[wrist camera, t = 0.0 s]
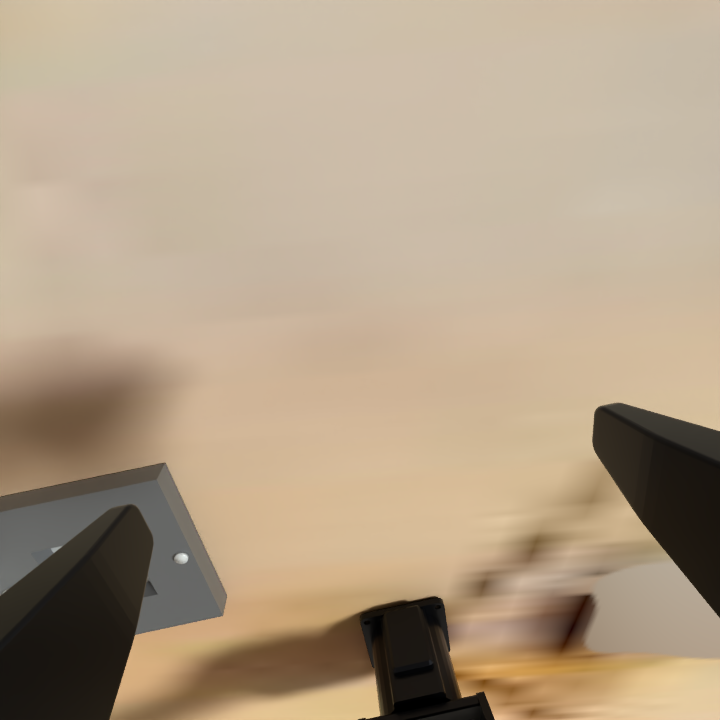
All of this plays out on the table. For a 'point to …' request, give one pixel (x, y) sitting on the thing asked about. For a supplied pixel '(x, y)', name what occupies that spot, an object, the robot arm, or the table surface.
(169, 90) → the table surface
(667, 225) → the table surface
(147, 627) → the outlet plate
